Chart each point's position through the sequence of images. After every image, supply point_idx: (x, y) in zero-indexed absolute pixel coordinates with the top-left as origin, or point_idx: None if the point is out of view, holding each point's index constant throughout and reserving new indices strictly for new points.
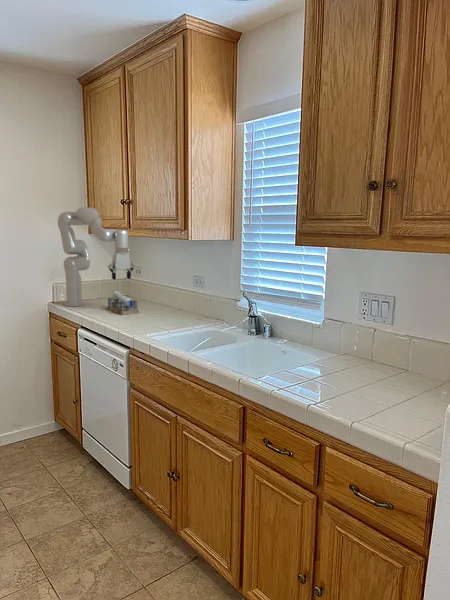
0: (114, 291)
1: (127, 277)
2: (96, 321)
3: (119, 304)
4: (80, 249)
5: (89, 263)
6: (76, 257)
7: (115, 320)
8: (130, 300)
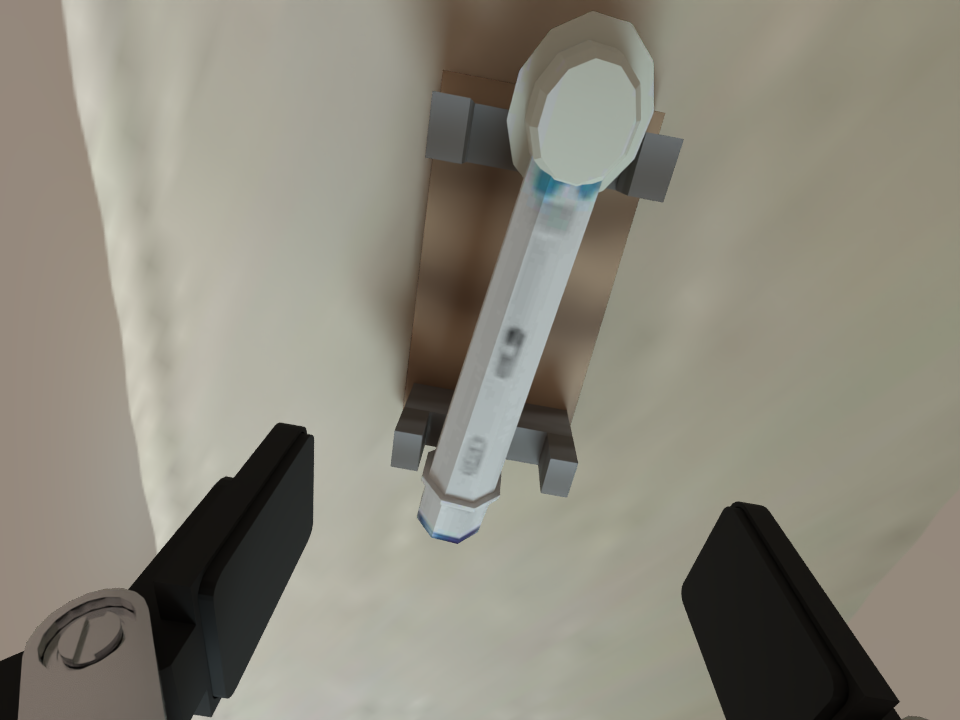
0: (577, 67)
1: (722, 543)
2: (145, 454)
3: None
4: None
5: None
6: None
7: None
8: (444, 539)
